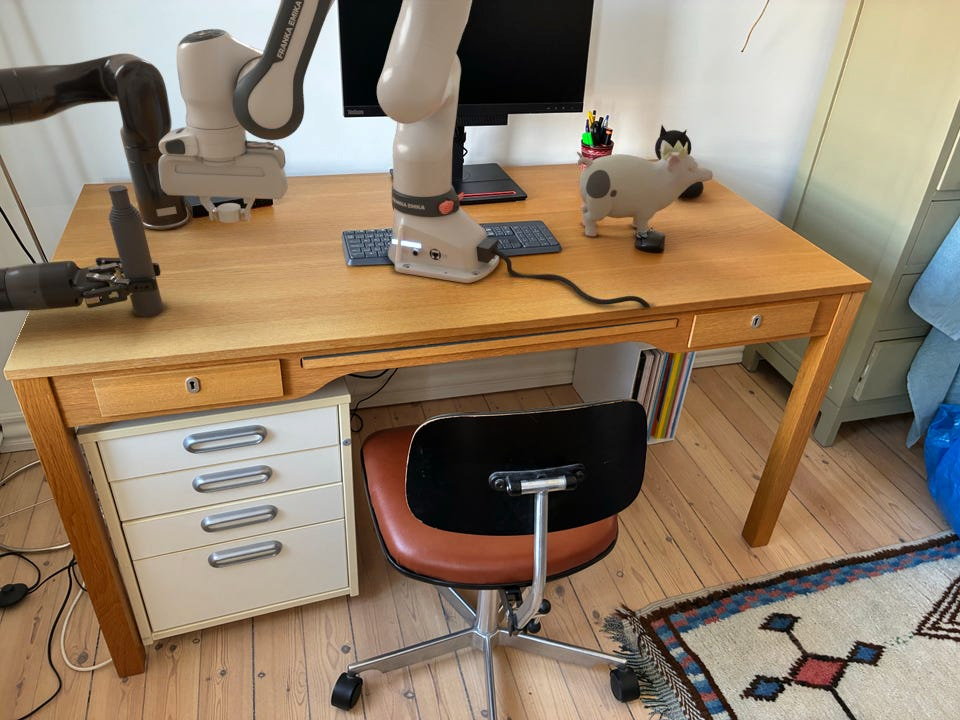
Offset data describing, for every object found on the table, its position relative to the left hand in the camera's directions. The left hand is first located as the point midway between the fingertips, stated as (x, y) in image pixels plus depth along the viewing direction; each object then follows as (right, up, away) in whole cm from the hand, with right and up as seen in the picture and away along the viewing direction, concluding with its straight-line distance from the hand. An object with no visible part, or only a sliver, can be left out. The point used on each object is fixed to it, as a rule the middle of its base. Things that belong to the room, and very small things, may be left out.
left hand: (157, 276), depth 120 cm
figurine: (+88, +14, +37) cm, 96 cm away
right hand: (+11, +10, +3) cm, 15 cm away
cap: (+11, +12, +2) cm, 16 cm away
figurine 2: (+103, +29, +60) cm, 123 cm away
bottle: (-3, -5, +3) cm, 7 cm away
